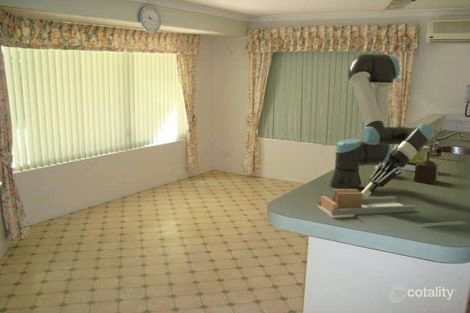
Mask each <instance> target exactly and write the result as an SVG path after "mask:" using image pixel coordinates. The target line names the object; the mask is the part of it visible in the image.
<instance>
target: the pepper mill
mask: <svg viewBox="0 0 470 313" xmlns="http://www.w3.org/2000/svg"><path fill="white" fill-rule="evenodd" d="M435 152H436V153H435V154H431V150H430V151H427V160H426V161H423V162H419V163H417V164H416V166H415V171H414V178H413V182H416V183H422V184H426V185H427V184H428V185H436V184H437V183H438V182H439V180H438V177H439V171H440V170H439V168H440V163H435V162H436V161H432V160H430V157H441V156H442V153H443V152H444V148H443V147H440V146H438V147H436V148H435Z"/></svg>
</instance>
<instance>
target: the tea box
mask: <svg viewBox="0 0 470 313" xmlns="http://www.w3.org/2000/svg"><path fill="white" fill-rule="evenodd" d="M427 151H430V152H431V146H428V145H425V146H424V147H423V148H422V149H421V150H420V151H419V152H418V153H417V154H416V155H415V156H414V157H413V158H412V159H411V160H409V162H408V163H407V164H406V165H405V166H404V167H401V168H400V170H406V171H411V172H415V166H416V164H417V163H419V162H423V161H426V160H427Z"/></svg>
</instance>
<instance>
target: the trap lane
mask: <svg viewBox="0 0 470 313" xmlns="http://www.w3.org/2000/svg"><path fill="white" fill-rule="evenodd" d="M337 207H338V204H337V203H335V202H334V201H332V199H331V198H329V197H328V196H326V195H321V196H320V199H318V200H317V208H319V209H320V210H321V211H322V212H324V213H326V214H327V215H328V216H329V217H330V218H333V219H335V218H338V219H339V218H352V217H354V218H356V217H357V215H366V214H368V215H369V214H382V213H383V214H384V213H386V214H387V213H401V212H402V213H403V212H415V211H416V210H415V209H416V206H415V204H414V205H413V204H410V205H409V204H408V205H404V204H402V203H400V202H397V197H396V196H394V195H393V196H375V197H374V196H373V197H370V196H368V197H367V198H366V199H365V198H364V197H362V207H361V208H347V209H337Z"/></svg>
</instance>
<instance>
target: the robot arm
mask: <svg viewBox="0 0 470 313" xmlns="http://www.w3.org/2000/svg"><path fill="white" fill-rule="evenodd" d="M347 75H348V81H349V84H350V85H352V86H353V89H354V93H355V96H356V99H357V103H358V106H359V109H360V112H361V116H362V119H363V124H364V126H365V127H364V128H363V130H362V134H361V135H362V140H361V139H358V138H348V139H347V138H346V139H342V140H339V141H338V142H336V143H337V144H336V148H335V160H334V161H335V164H334V171H333V173H332V175H331V178H330V183H329V186H330V187H333V189H357V190H360V189H361V188H362V179H361V176H360V166H362V167H363V166H364V167H365V166H366V167H367V166H374V167H375V166H378V167H377V168H376V167H375V170H374V171H373V172H372V174H371V175H370V177H369V178H368V180H369V183H368V184H367V185H366V186H365V188H364V189H363V190H361V191H360V192H361V193H362V194H363V196H362V198H365V199H366V198H368V197H370V195H371V194H372V193H373V192H374V191H375V190H376V189H377V188H379V187H380V188H383V187H384V186H386V185H388V183H389V182H390V181H392V180H393V179H395V178H396V177H397V176H399V175H401V174H402V171H401V169H400V168H401V167H404V166H405V165H406V164H407V163H408V162H409V160H411V159H412V158H413V157H414V156H415V155H416V154H417V153H418V152H419V151H420V150H421V149H422V148H423V147H424V146H427V144H428V143H429V142H430V141H431V139H432V138H433V137H434V136H435V131H434V129H433V128H432V127H431V126H430V125H428V124H427V123H425V122H420V123H419V124H418V125H416V126H415V127H407V126H386V125H387V124H386V123H387V114H388V102H389V93H390V92H389V91H390V87H391V86H392V85H393V84H394V80H396V79H397V78H398V77H399V75H400V62H399V60H398V59H397V57H396V56H394V55H393V54H386V53H384V54H382V53H381V54H380V53H379V54H378V53H374V54H373V53H361V54H359V55H357V56H356V57H355V58H354V59H353V60H352V61H351V63H350V64H349V67H348V72H347ZM392 145H397V146H396V147H395V149H392Z"/></svg>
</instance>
